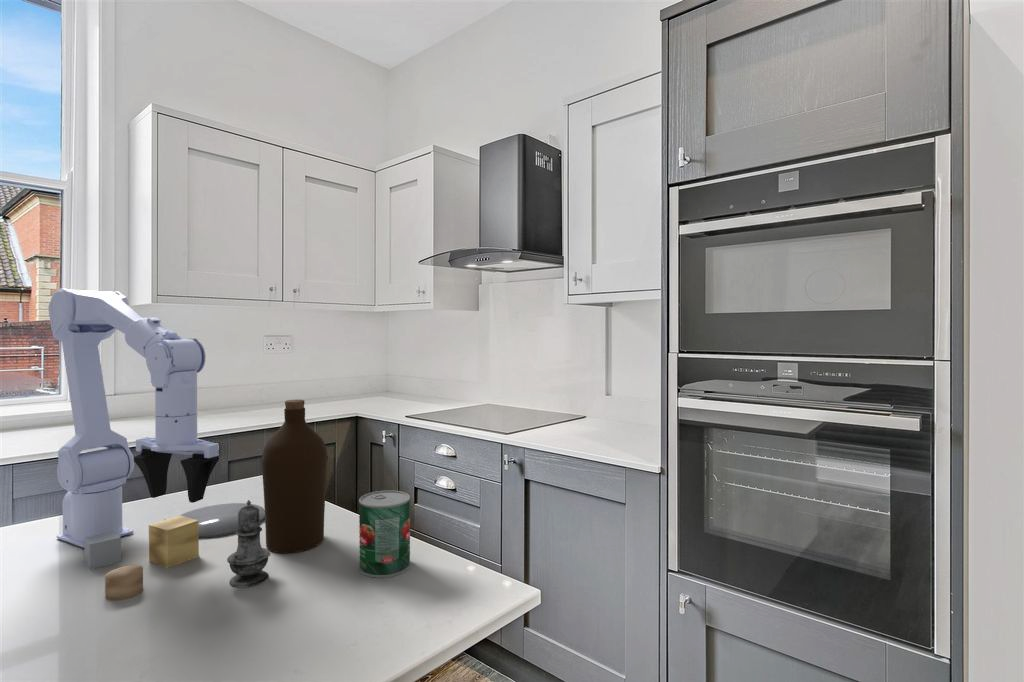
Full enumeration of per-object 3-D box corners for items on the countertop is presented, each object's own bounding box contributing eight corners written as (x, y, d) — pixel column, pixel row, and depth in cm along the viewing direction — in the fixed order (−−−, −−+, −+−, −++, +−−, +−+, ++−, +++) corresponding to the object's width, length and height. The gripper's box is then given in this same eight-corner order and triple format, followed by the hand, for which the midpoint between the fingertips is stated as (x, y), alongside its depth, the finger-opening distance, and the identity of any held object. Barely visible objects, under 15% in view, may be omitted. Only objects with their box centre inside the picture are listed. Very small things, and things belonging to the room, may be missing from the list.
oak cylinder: (98, 596, 77) (98, 575, 77) (132, 583, 81) (132, 563, 80) (116, 603, 75) (115, 582, 75) (149, 589, 79) (149, 569, 78)
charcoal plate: (151, 527, 102) (151, 522, 102) (230, 503, 116) (230, 498, 116) (205, 544, 95) (205, 538, 95) (282, 515, 109) (282, 511, 109)
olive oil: (292, 560, 89) (291, 406, 88) (248, 547, 93) (247, 402, 93) (340, 537, 98) (339, 399, 97) (297, 527, 103) (297, 395, 102)
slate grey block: (84, 562, 87) (84, 537, 87) (114, 554, 90) (114, 530, 90) (90, 569, 85) (89, 544, 85) (121, 561, 88) (120, 537, 88)
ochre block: (149, 561, 88) (148, 524, 88) (180, 550, 92) (179, 515, 92) (167, 568, 85) (167, 530, 85) (198, 556, 90) (198, 520, 90)
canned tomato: (420, 566, 87) (420, 497, 86) (377, 583, 81) (377, 509, 81) (391, 551, 92) (391, 487, 92) (349, 566, 86) (349, 497, 86)
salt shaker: (253, 590, 78) (253, 507, 78) (217, 586, 80) (217, 504, 79) (278, 572, 84) (278, 495, 84) (245, 568, 85) (244, 492, 85)
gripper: (117, 415, 85) (118, 501, 86) (192, 421, 81) (193, 511, 82) (157, 408, 92) (158, 488, 93) (228, 413, 88) (229, 496, 89)
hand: (177, 498), depth 88 cm, fingers open, 7 cm apart
